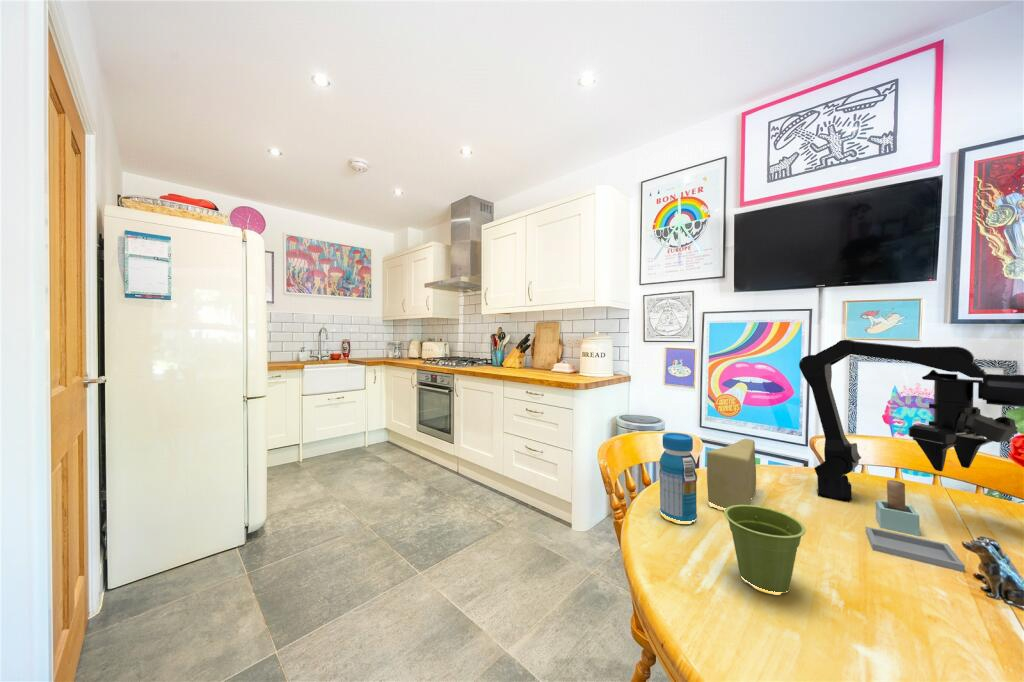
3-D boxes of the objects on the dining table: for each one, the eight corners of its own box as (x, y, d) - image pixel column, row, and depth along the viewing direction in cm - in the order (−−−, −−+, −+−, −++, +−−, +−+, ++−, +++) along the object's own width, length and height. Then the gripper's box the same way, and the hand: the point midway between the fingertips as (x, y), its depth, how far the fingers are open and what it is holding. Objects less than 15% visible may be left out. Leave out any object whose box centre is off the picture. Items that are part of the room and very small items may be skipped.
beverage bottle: (659, 522, 87) (658, 438, 87) (659, 507, 94) (658, 430, 95) (699, 529, 83) (698, 441, 84) (695, 513, 91) (695, 433, 91)
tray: (872, 552, 74) (872, 543, 74) (865, 534, 81) (865, 526, 81) (965, 575, 66) (964, 565, 66) (947, 553, 73) (947, 544, 73)
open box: (880, 530, 82) (880, 508, 82) (875, 520, 87) (875, 499, 87) (919, 538, 79) (919, 515, 79) (912, 527, 84) (912, 505, 84)
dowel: (889, 527, 83) (888, 482, 83) (886, 522, 85) (885, 479, 85) (907, 530, 81) (906, 485, 81) (904, 525, 83) (903, 481, 83)
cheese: (733, 484, 110) (733, 435, 110) (772, 494, 103) (771, 441, 103) (706, 506, 95) (705, 449, 95) (749, 519, 88) (748, 457, 88)
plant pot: (712, 562, 71) (711, 504, 71) (774, 563, 70) (774, 504, 70) (750, 606, 59) (749, 535, 59) (825, 607, 58) (824, 536, 58)
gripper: (979, 409, 73) (978, 486, 73) (1035, 405, 78) (1034, 478, 78) (907, 400, 84) (906, 467, 84) (960, 397, 89) (959, 461, 89)
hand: (952, 469), depth 83 cm, fingers open, 9 cm apart
